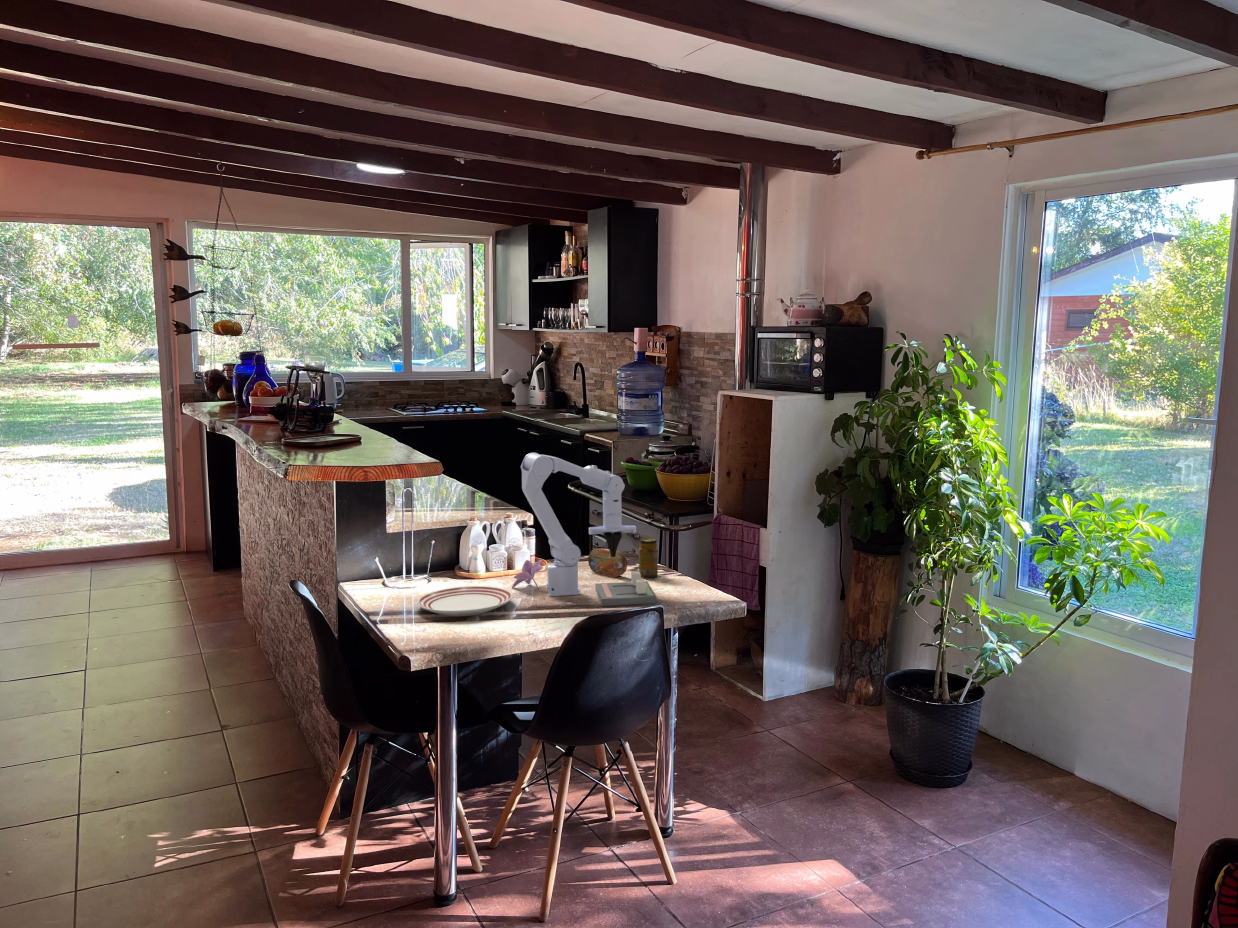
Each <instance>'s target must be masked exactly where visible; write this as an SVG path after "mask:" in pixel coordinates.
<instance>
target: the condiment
mask: <svg viewBox="0 0 1238 928" xmlns="http://www.w3.org/2000/svg"><path fill="white" fill-rule="evenodd" d="M658 554H659V551H658V548H657V540H656V539H655V538H652V537H651V538H647V537H646V538H641V539H640V540H639V548H638V572H640V574H641V579H644V580H649V581H654V580H659V579H662V578H667V577H668V576H667V575H663V574H659V573H658V572H659V571H658V570H659V569H658V568H659V566H658V564H659V562H658V559H659V558H658Z"/></svg>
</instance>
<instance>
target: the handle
mask: <svg viewBox="0 0 1238 928" xmlns="http://www.w3.org/2000/svg"><path fill="white" fill-rule="evenodd" d="M630 574H631V576H630V577H631V581H630V582H631V583H632V585H633V586H636V580H638V579H642V578H641V574H640V572H639V571H631V573H630Z"/></svg>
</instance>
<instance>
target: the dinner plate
mask: <svg viewBox="0 0 1238 928" xmlns="http://www.w3.org/2000/svg"><path fill="white" fill-rule="evenodd" d="M513 596H514V594H513V592H511V591H510V590H508V589H505V588H502V587H497V586H490V585H489V586H487V585H486V586H485V585H468V586H454V587H449V588H447V587H446V588H443V589H438V590H435V591H431V592H428V593H425V594H424V595H422V596H420V597H419V598H418V599H417V600H416V605H417V606H418V607H420V608H422V609H423V610H426V611H428V612H431V613H435V614H439V615H441V616H449V617H465V616H466V617H467V616H468V617H469V616H476V615H481V614H485V613H489V612H491V611H493V610H496V609H497V608H500V607H502V606H504V605H506V604H507V603H508V602H510V601H511V600H512V599H513Z"/></svg>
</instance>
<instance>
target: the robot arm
mask: <svg viewBox="0 0 1238 928" xmlns="http://www.w3.org/2000/svg"><path fill="white" fill-rule="evenodd" d="M520 469H521V489H522V492H523V494H524V496H525V498H526V499H527V502H528V504H529V505H530V507H531V508H532V511H533V512H534V514H535V516H536V517H537V520H538V522H539V523H540V525H541V527H542V529H543V530H544V532H545V534H546V536H547V538H548V541H547V542H548V544H549V546H550V554H551V556H552V557H553V558H554V560H553V563H552V564H547V565H546V566H547V568H546V569H547V570H546V571H547V576H546V577H547V582H546V589H547V592H548V593H547V594H548V597H559V596H561V597H562V596H578V595H581V591H580V587H579V571H578V570H579V567H578V566H579V563H578V562H579V561H580V559H581V556H582V552H581V549H580V548H579V546H578V545H576V544H575V543H573V540H572V539H571V538H570V537H569V536H568V534H566V532H565V531H564V529H563V527H562V525H561V523H560V522H559V519H558V518H557V516H556V514H555V512H554V510H553V508H552V506H551V505H550V503H549V501H548V499H547V498H546V497H547V496H546V495H545V493H544V492H543V490H542V489H543V485H544V483H545V482H546V480H548V478H549V476H550V475H551V473H553V474H556V473H557V472H563V473H566V474H569V475H571V476H575V477H578V478H579V479H580V481H581V483H582V484H584V485H587V486H589V487H592V488H595V489H598V490H601V491H602V517H603V518H602V521H603V522H602V525H598V526H590V527H588V534H589V535H599V534H600V535H601V534H602V535H603V536H604V538H605V541H606V543H607V546H608V549H609V550H610V556H611V557H616V551H618V547H619V543H620V542H621V539H622V537H623V533H631V534H636V533H637V526H636V525H626V524H625V525H624V524H623V523H622V516H623V515H622V514H623V513H622V512H623V511H622V493H623V491H624V490H625V487H626V484H625V483H624V481H623V478H622V477H621V476H619V475H616V474H613V473H611V471H609V470H602V469H600V468H598V466H597V465H593V464H591V465H587V466H585V467H582V466H579V465H577V464H575V463H571V462H569V461H567V460H564V459H562V458H559V457H556V456H552V455H546V454H539V453H538V452H530V453H528V454H526V455H525V456H524V458H523V460H522V463H521V465H520Z"/></svg>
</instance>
